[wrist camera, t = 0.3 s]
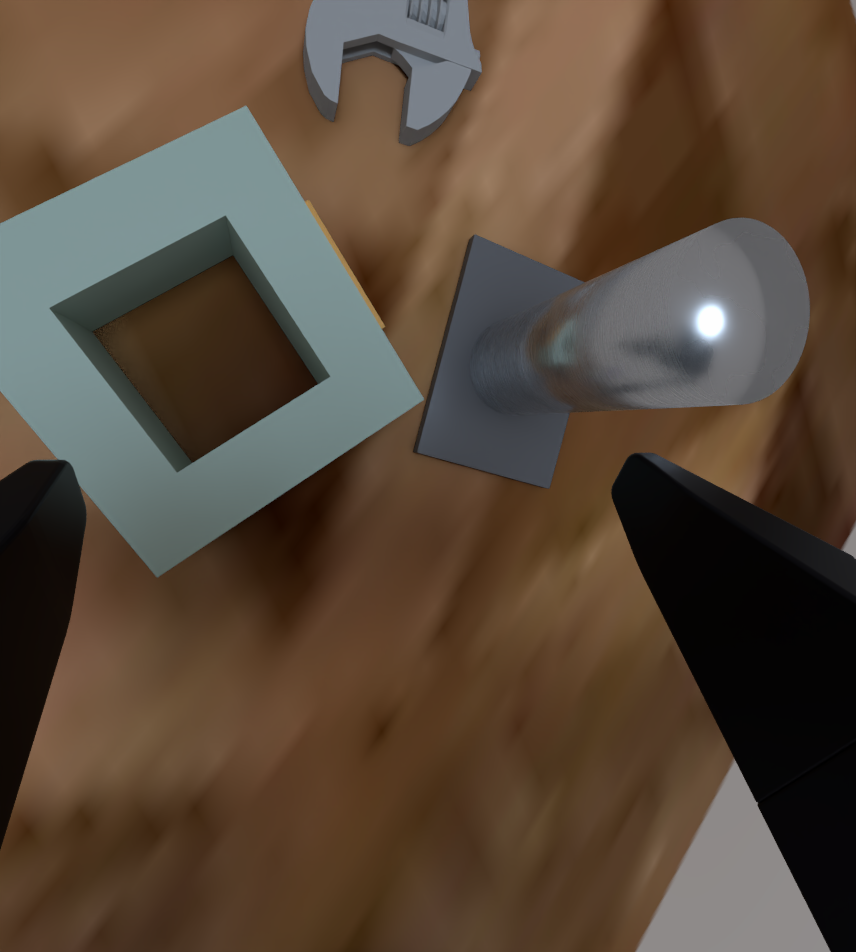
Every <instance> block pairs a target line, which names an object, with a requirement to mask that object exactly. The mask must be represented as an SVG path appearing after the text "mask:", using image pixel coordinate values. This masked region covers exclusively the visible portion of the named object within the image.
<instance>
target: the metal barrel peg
mask: <svg viewBox="0 0 856 952" xmlns="http://www.w3.org/2000/svg"><path fill="white" fill-rule="evenodd" d="M809 317H810V302H809V293H808V287H807V282H806V278H805V275H804V272H803V269H802V266H801V264H800V262H799V259H798V258H797V256H796V254H795V252H794V251H793V249H792V248H791V246H790V245H789V244H788V242H787V241H786V240H785V239H784V238H783V237H782V236H781V235H780V234H779V233H778V232H777V231H776V230H774V229H773V228H772V227H770V226H768V225H766V224H765V223H763V222H760V221H757V220H754V219H749V218H733V219H727V220H724V221H722V222H719V223H716V224H714V225H712V226H710V227H708V228H705V229H703V230H701V231H699V232H696V233H694V234H692V235H690V236H688V237H685V238H683V239H681V240H679V241H677V242H674V243H672V244H670V245H668V246H665V247H663V248H661V249H659V250H657V251H654V252H652V253H650V254H648V255H645V256H643V257H641V258H639V259H637V260H634V261H632V262H630V263H628V264H625V265H623V266H621V267H619V268H617V269H614V270H612V271H610V272H608V273H606V274H603V275H601V276H599V277H597V278H594V279H592V280H590V281H588V282H586V283H583V284H581V285H579V286H577V287H574V288H572V289H570V290H568V291H566V292H563V293H561V294H559V295H557V296H554V297H552V298H550V299H548V300H546V301H543V302H541V303H539V304H537V305H535V306H532V307H530V308H528V309H526V310H523V311H521V312H519V313H517V314H515V315H512V316H510V317H508V318H506V319H503V320H501V321H499V322H497V323H495V324H493V325H491V326H490V327H489V328H487V329H486V330H485V331H484V332H483V333H482V334H481V335H480V337H479V338H478V340H477V342H476V343H475V346H474V348H473V351H472V355H471V361H470V372H471V378H472V382H473V385H474V388H475V390H476V392H477V394H478V395H479V397H480V398H481V399H482V400H483V402H484V403H485V404H486V405H488V406H489V407H490V408H492V409H493V410H495V411H497V412H499V413H502V414H506V415H531V414H552V413H573V412H594V411H616V410H637V409H658V408H679V407H700V406H721V405H742V404H749V403H753V402H757V401H760V400H762V399H764V398H766V397H768V396H769V395H771V394H772V393H773V392H775V391H776V390H777V389H778V388H779V387H780V386H782V385H783V383H784V382H785V381H786V380H787V379H788V378H789V376H790V375H791V373H792V372H793V370H794V369H795V367H796V365H797V363H798V361H799V359H800V357H801V354H802V351H803V349H804V346H805V342H806V338H807V333H808V327H809Z"/></svg>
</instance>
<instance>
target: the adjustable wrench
mask: <svg viewBox="0 0 856 952" xmlns="http://www.w3.org/2000/svg"><path fill="white" fill-rule="evenodd" d="M372 55H373V56H375V57H378V58H380V59H383V60H385V61H388V62H391V63H394V64H396V65H399V66H400V67H401V69H402V70H403V71H404V72H405V74H406V75H407V76H408V77H409V78H408V80H407V83H406V85H405V88H404V97H403V107H402V116H401V125H400V135H399V143H401V144H404V145H407V146H411V145H413V144H415V143H417V142H420V141H421V140H423V139H424V138H426V137H427V136H429V135H430V134H432V133H433V132H434V131H435V130H436V129H437V128H438V127H439V126H440V125H441V124H442V123H443V122H444V120H445V119H446V117H447V116H448V114H449V112H450V111H451V109H452V107H453V106H454V104H455V102H456V101H457V99H458V97H459V95H460V94H461V92H462V90H463V88H464V89H467V90H470V91H471V89H472V88H473V86H474V84H475V83H476V81H477V79H478V78H479V76H480V74H481V73H482V70H481V62H480V60H479V58H480V51H478V50H475V49H474V47H473V43H472V39H471V35H470V27H469V14H468V1H467V0H313V2H312V4H311V7H310V10H309V15H308V19H307V24H306V29H305V39H304V49H303V59H304V71H305V76H306V80H307V84H308V89H309V93H310V95H311V96H312V98H313V100H314V102H315V104H316V106H317V108H318V110H319V111H320V113H321V114H322V115H323V116H324V117H325V118H326V119H328V120H330V121H332V122H334V117H335V113H336V108H337V104H338V95H339V84H340V74H341V64H342V63H345V62H349V61H353V60H357V59H360V58H364V57H368V56H372Z"/></svg>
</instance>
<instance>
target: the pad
mask: <svg viewBox="0 0 856 952" xmlns="http://www.w3.org/2000/svg"><path fill="white" fill-rule="evenodd" d="M583 283H584V282H582V281H580V280H578V279H575V278H573V277H571V276H568V275H566V274H564V273H562V272H559V271H557V270H555V269H553V268H550V267H548V266H546V265H543V264H541V263H539V262H537V261H534V260H532V259H530V258H528V257H525V256H523V255H521V254H518V253H516V252H514V251H512V250H509V249H507V248H505V247H503V246H500V245H498V244H496V243H493V242H491V241H489V240H487V239H484V238H482V237H480V236H478V235H473V236H472V237H471V238H470V240H469V243H468V247H467V251H466V255H465V258H464V262H463V266H462V270H461V274H460V277H459V281H458V285H457V289H456V292H455V296H454V300H453V304H452V307H451V311H450V315H449V319H448V323H447V326H446V330H445V334H444V338H443V341H442V345H441V349H440V353H439V357H438V360H437V364H436V368H435V372H434V375H433V379H432V383H431V387H430V391H429V394H428V398H427V402H426V406H425V409H424V413H423V417H422V421H421V425H420V428H419V432H418V436H417V440H416V443H415V447H414V451H413V452H416V453H420V454H423V455H427V456H431V457H434V458H438V459H441V460H445V461H449V462H452V463H456V464H460V465H463V466H467V467H471V468H474V469H478V470H481V471H485V472H489V473H492V474H496V475H500V476H503V477H507V478H511V479H514V480H518V481H521V482H525V483H529V484H532V485H536V486H540V487H543V488H548V489H549V488H550V484H551V480H552V477H553V473H554V469H555V465H556V462H557V458H558V454H559V451H560V447H561V443H562V439H563V436H564V432H565V428H566V424H567V421H568V417H569V413H552V414H531V415H506V414H502V413H499V412H497V411H495V410H493V409H492V408H490V407H489V406H488V405H486V404H485V403H484V402H483V400H482V399H481V398H480V397H479V395H478V394H477V392H476V390H475V388H474V385H473V382H472V378H471V372H470V361H471V355H472V351H473V348H474V346H475V343H476V342H477V340H478V338H479V337H480V335H481V334H482V333H483V332H484V331H485V330H486V329H487V328H489V327H490V326H491V325H493V324H495V323H497V322H499V321H501V320H503V319H506V318H508V317H510V316H512V315H515V314H517V313H519V312H521V311H523V310H526V309H528V308H530V307H532V306H535V305H537V304H539V303H541V302H543V301H546V300H548V299H550V298H552V297H554V296H557V295H559V294H561V293H563V292H566V291H568V290H570V289H572V288H574V287H577V286H579V285H581V284H583Z"/></svg>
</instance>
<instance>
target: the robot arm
mask: <svg viewBox="0 0 856 952" xmlns="http://www.w3.org/2000/svg"><path fill="white" fill-rule="evenodd" d="M611 494H612V499H613V502H614V505H615V507H616V510H617V513H618V515H619V518H620V520H621V523H622V526H623V528H624V531H625V533H626V536H627V539H628V541H629V544H630V546H631V549H632V552H633V554H634V557H635V559H636V562H637V564H638V566H639V569H640V571H641V573H642V575H643V577H644V579H645V581H646V583H647V585H648V587H649V589H650V591H651V593H652V595H653V597H654V599H655V601H656V603H657V605H658V607H659V609H660V611H661V613H662V615H663V617H664V619H665V621H666V623H667V625H668V627H669V629H670V631H671V633H672V635H673V637H674V639H675V641H676V643H677V645H678V647H679V649H680V651H681V653H682V655H683V657H684V659H685V661H686V663H687V665H688V667H689V669H690V671H691V673H692V675H693V677H694V679H695V681H696V683H697V685H698V687H699V689H700V691H701V693H702V695H703V697H704V699H705V701H706V703H707V705H708V707H709V709H710V711H711V713H712V715H713V717H714V719H715V721H716V723H717V725H718V727H719V729H720V731H721V733H722V735H723V737H724V739H725V741H726V743H727V745H728V747H729V749H730V751H731V753H732V755H733V757H734V759H735V761H736V763H737V764H738V766H739V768H740V770H741V772H742V774H743V776H744V778H745V780H746V782H747V784H748V786H749V788H750V790H751V792H752V794H753V796H754V798H755V800H756V802H758V807H759V809H760V811H761V813H762V815H763V817H764V819H765V821H766V823H767V825H768V827H769V829H770V831H771V833H772V835H773V837H774V839H775V841H776V843H777V845H778V847H779V849H780V851H781V853H782V855H783V857H784V859H785V861H786V863H787V865H788V867H789V869H790V871H791V873H792V875H793V877H794V879H795V881H796V883H797V885H798V887H799V889H800V891H801V893H802V895H803V897H804V899H805V901H806V903H807V905H808V907H809V909H810V911H811V913H812V915H813V917H814V919H815V921H816V923H817V925H818V927H819V929H820V931H821V933H822V935H823V937H824V939H825V941H826V943H827V945H828V947H829V949H830V951H831V952H856V559H854V557H853V556H851V555H850V554H848V553H846V552H844V551H842V550H840V549H838V548H836V547H834V546H832V545H830V544H828V543H826V542H824V541H822V540H821V539H819V538H817V537H815V536H813V535H811V534H809V533H807V532H805V531H803V530H801V529H799V528H797V527H795V526H793V525H792V524H790V523H788V522H786V521H784V520H782V519H780V518H778V517H776V516H774V515H772V514H770V513H768V512H766V511H764V510H763V509H761V508H759V507H757V506H755V505H753V504H751V503H749V502H747V501H745V500H743V499H741V498H739V497H737V496H735V495H734V494H732V493H730V492H728V491H726V490H724V489H722V488H720V487H718V486H716V485H714V484H712V483H710V482H708V481H706V480H705V479H703V478H701V477H699V476H697V475H695V474H693V473H691V472H689V471H687V470H685V469H683V468H681V467H679V466H677V465H676V464H674V463H672V462H670V461H668V460H666V459H664V458H662V457H660V456H658V455H656V454H653V453H634V454H631V455H630V456H629V457H628V458H627V460H626V461H625V463H624V465H623V467H622V469H621V471H620V473H619V474H618V476H617V478H616V480H615V482H614V484H613V486H612V492H611ZM86 516H87V514H86V505H85V502H84V499H83V496H82V493H81V490H80V487H79V484H78V481H77V477H76V474H75V471H74V469H73V467H72V465H71V464H70V463H69V462H68V461H66V460H33V461H30V462H28V463H26V464H25V465H23V466H22V467H20V468H19V469H17V470H16V471H14V472H13V473H11V474H9V475H8V476H6V477H5V478H3V479H2V480H0V849H1V846H2V843H3V840H4V836H5V833H6V830H7V827H8V823H9V820H10V817H11V813H12V810H13V807H14V804H15V800H16V797H17V794H18V790H19V787H20V784H21V781H22V777H23V774H24V771H25V767H26V764H27V761H28V758H29V754H30V751H31V748H32V745H33V741H34V738H35V735H36V731H37V728H38V725H39V722H40V718H41V715H42V712H43V708H44V705H45V702H46V699H47V695H48V692H49V689H50V685H51V682H52V679H53V676H54V672H55V669H56V666H57V663H58V659H59V656H60V653H61V649H62V646H63V643H64V640H65V636H66V633H67V629H68V625H69V621H70V617H71V612H72V606H73V601H74V594H75V588H76V582H77V576H78V570H79V563H80V557H81V551H82V545H83V538H84V532H85V526H86Z"/></svg>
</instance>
